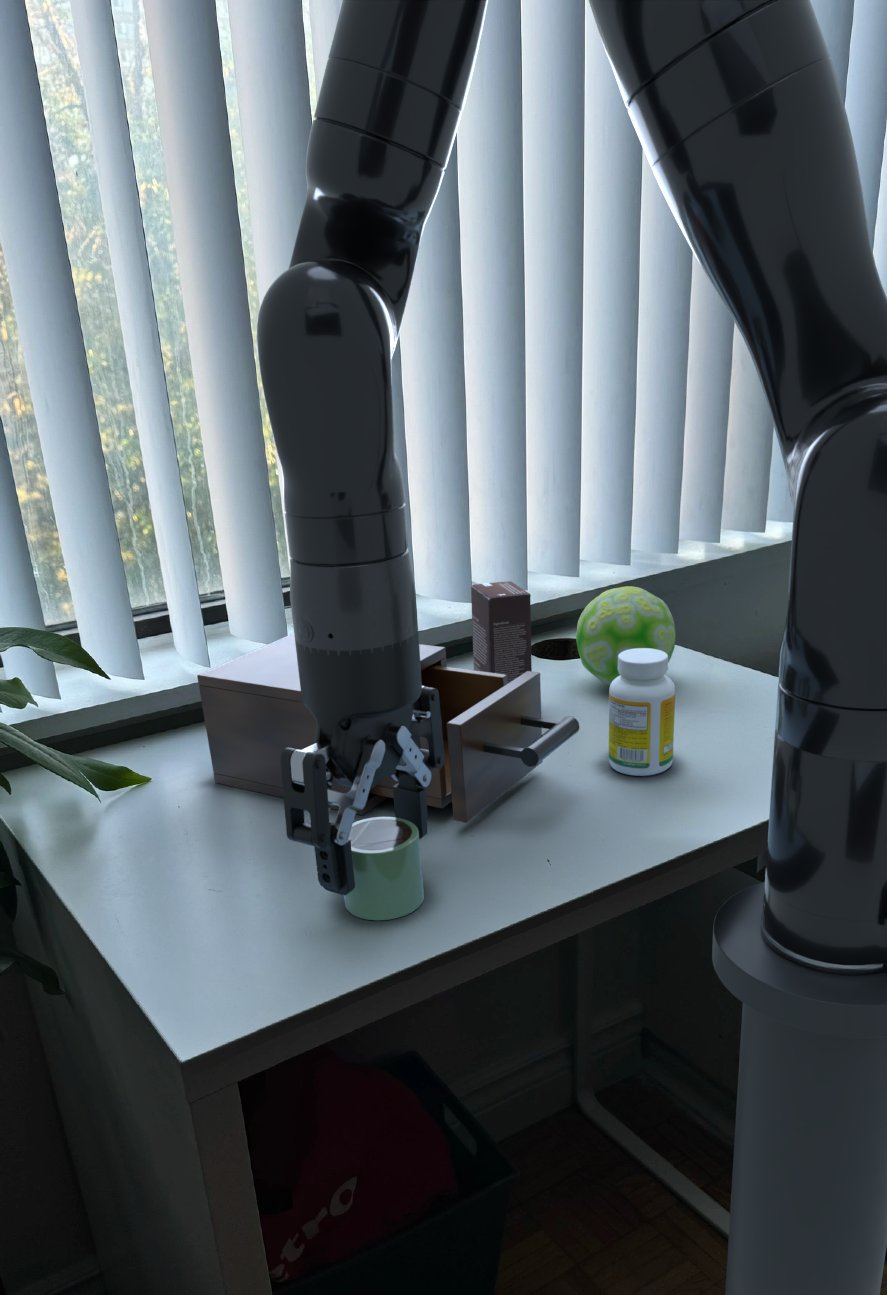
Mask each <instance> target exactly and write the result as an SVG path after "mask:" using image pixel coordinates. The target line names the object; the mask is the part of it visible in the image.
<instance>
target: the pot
mask: <svg viewBox="0 0 887 1295" xmlns="http://www.w3.org/2000/svg"><path fill="white" fill-rule="evenodd" d="M348 840H350V841H351V851H352V860H353V870H354V880H355V888H354V890H352V891H351V892H350V893H348V894H347V895H343V901H344V906H345V909H346V910H347V912H349V913H350V914H351V915H353V916H355V917H356V918H360V919H362V920H369V921H390V920H395V919H399V918H402V917H405V916H408V915H410V914H412V913H413V912H414V911H416V910H417V909H419V908H420V907H421V905H422V904H423V902H424V899H425V890H424V878H423V876H424V875H423V865H422V854H421V842H420V840H419V831H418V828H417V827H416V825H415V824H413V823H412V822H410V821H408V820H405V819H402V818H397V817H395V816H375V817H368V818H364V819H360V820H357V821H355V822H354V821H353V824H352V828H351V831H350V834H349V838H348Z"/></svg>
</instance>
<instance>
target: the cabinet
mask: <svg viewBox="0 0 887 1295" xmlns="http://www.w3.org/2000/svg"><path fill="white" fill-rule="evenodd" d="M419 649H420V664H421V671H422V670H424V669H425V668H427V667H429V666H431V665H436V666H444V667H448V664H447V663H448V662H447V650H446V649H447V648H446V647H445V646H437V645H428V644H422V643H421V644H420V643H419ZM196 677H197V684H198V687H199V688H198V689H199V695H200V701H201V706H202V712H203V713H202V714H203V719H204V725H205V729H206V730H205V731H206V736H207V743H208V748H209V754H210V761H211V767H212V772H213V780H214V783H215V784H220V785H224V786H230V787H232V788H233V787H234V788H238V789H242V790H247V791H252V792H256V793H261V794H264V795H269V796H274V797H279V798H283V799H284V795H283V783H282V771H281V754H282V752H283V750H284V749H285V748H288V747H289V748H294V749H299V750H303V749H305V748H307V747H309V746H311V745H313V744H314V740H315V736H316V729H317V722H316V719H315V717H314V716H313V714H312V713H311V712H310V710H309V709H308V708H307V707H306V706H305V705H304V703H303V701H302V697H301V688H300V679H299V671H298V662H297V653H296V644H295V636H294V632H293V633H291V634H289V635H286V636H284V637H281V638H279V639H277V640H275V641H272V642H269V643H268V644H266V645H263V646H260V647H259V648H256V649H254V650H251V651H249V652H247V653H245V654H242V655H240V656H238V657H235V658H233V659H231V660H229V661H227V662H224V663H222V664H219V665H217V666H215V667H212V668H211V669H208V670H206V671H204V672H201V673H199V674H196ZM351 788H352V787H347V786H343V785H341V784H340V783H339V782H337V780H336V779H335V778H334V779H333V782H332V786H331V789H332V791H337V792H341V793H347V792H349V791H350V790H351ZM388 798H389V797H385V796H380V795H376V794H371V793H369V794H368V798H367V801H366V804H365V807H364V808H363V809H362V810H361V811H358V812H357V813H356V814H355V815H359V816H364V815H365V814H367V813H368V812H370V811H371V810H372V809H374V808H375V807H377V806H378V805H380V804H381V803H383V802H384V801H386V800H387V799H388ZM331 810H337V811H339V806H337V805H333V806H332V807H331Z"/></svg>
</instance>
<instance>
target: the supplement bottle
mask: <svg viewBox="0 0 887 1295" xmlns="http://www.w3.org/2000/svg"><path fill="white" fill-rule="evenodd" d="M617 669H618V672H619V674H620V676H618V677H617V678H615V679H614V680H613V681H612V683H611V685H609V689H608V763H609V765H610V767H611V768H612V769H613V770H614V771H616V772H618V773H621V774H623V775H628V776H636V777H646V776H654V775H658V774H661V773H663V772H665V771H666V770H667V769H670V767H672V764H673V762H674V738H675V737H674V736H675V733H674V732H675V709H676V708H675V707H676V686H675V683H674V682H673V681H672V679H671V678H670V677H669V676H667V675H666V674H667V673H668V670H669V662H668V655H667V654H666V653H665V652H663V651H661V650H657V649H651V648H636V649H630V650H626V651H623V652H621V653H620V654H619V655H618V668H617Z"/></svg>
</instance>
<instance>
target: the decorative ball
mask: <svg viewBox="0 0 887 1295" xmlns="http://www.w3.org/2000/svg"><path fill="white" fill-rule="evenodd" d="M576 625H577V626H576V634H575V641H576V647H577V651H578V655H579V657H580V661H581V662H580V663H581V664H582V666H583V667H584V669H585V670H586V671H588V672H589V673H591V675H592V676H594V677H595V679H597V680H598V681H600V682H601V683H603V684H606V686H607V685H608V686H610V685H611V683H612V681H613V680H614V679H615V678H617V677H618V676H620V674H619V672H618V669H617V668H618V655H619V654H620V653H621V652H623V651H626V650H630V649H636V648H651V649H657V650H661V651H663V652H665V653H666V654H667V655H668V663H670V660H671V658H672V656H673V653H674V652H675V647H676V638H677V631H676V625H675V620H674V617H673V614H672V613H671V610H670V608H669V606H668V605H667V603H665V601H664V600H663V599H662V598H659V597H658V596H656V595H655V594H653V593H651V592H649V591H648V590H646V589H644V588H642V587H637V586H631V585H630V586H629V585H628V586H620V587H615V588H611V589H607V590H605V591H603V592H601V593H600V594H599V595H597V596H596V597H595V598H594V599H592V600H591V601H590V602H589V603H588V604H587V605H586V606H585V607H584V609H583V610H582V612H581V614H580V615H579V618H578V621H577V624H576Z"/></svg>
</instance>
